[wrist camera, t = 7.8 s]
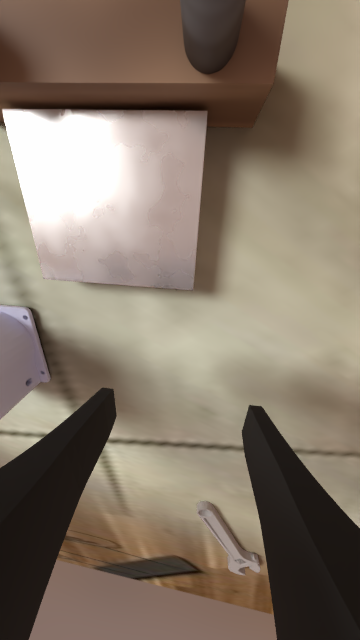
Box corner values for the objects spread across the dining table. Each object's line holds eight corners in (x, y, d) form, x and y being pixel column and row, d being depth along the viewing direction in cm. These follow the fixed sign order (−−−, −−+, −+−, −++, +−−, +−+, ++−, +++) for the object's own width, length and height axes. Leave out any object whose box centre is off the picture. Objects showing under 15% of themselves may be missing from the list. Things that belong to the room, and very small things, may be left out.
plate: (194, 281, 17) (193, 290, 15) (67, 272, 18) (43, 278, 15) (206, 136, 13) (207, 110, 10) (40, 132, 14) (1, 108, 11)
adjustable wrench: (194, 497, 32) (193, 511, 31) (232, 494, 31) (233, 508, 29) (230, 562, 41) (232, 576, 39) (261, 562, 40) (264, 576, 38)
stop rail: (252, 127, 12) (306, 15, 6) (-8, 122, 14) (-190, 25, 7) (263, 58, 11) (345, -174, 5) (-24, 59, 12) (-262, -124, 6)
